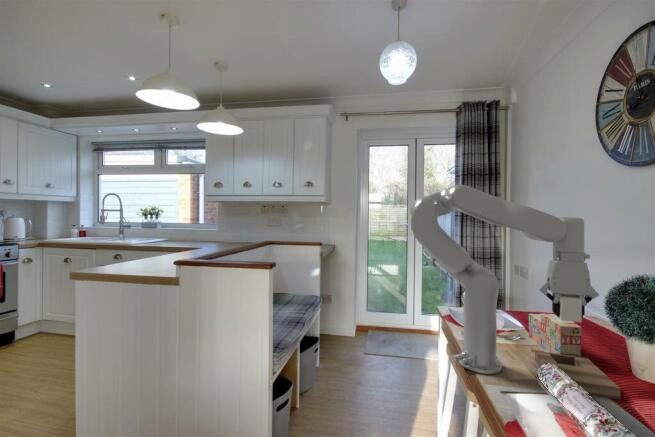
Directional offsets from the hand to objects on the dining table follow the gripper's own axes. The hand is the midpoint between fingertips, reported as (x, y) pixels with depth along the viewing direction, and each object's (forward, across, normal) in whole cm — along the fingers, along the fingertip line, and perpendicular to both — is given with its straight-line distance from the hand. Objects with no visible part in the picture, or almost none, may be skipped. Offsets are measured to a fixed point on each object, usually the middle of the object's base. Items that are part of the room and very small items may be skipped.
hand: (568, 315), depth 92 cm
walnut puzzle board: (+17, 0, +3) cm, 18 cm away
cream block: (+1, 0, 0) cm, 1 cm away
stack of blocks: (+18, -1, -18) cm, 25 cm away
